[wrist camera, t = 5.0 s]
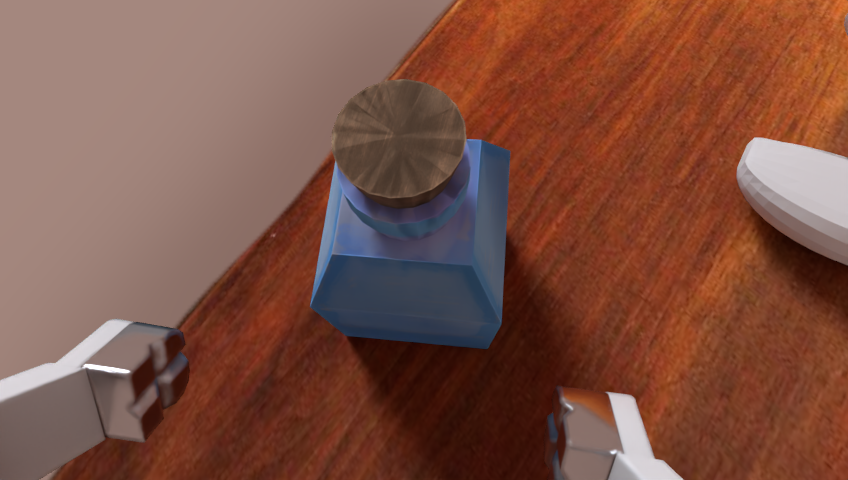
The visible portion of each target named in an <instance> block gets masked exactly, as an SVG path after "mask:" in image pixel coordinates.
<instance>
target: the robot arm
mask: <svg viewBox="0 0 848 480" xmlns="http://www.w3.org/2000/svg"><path fill="white" fill-rule="evenodd" d="M185 345H186V344H185V339H184V335H183V332H181V331H180V330H178V329H175V328H168V327H163V326H157V325H151V324H146V323H140V322H132V321H126V320H120V319H113V320H109V321H107V322H106V323H105V324H103V325H102V326H101V327H100V328H99V329H97V330H96V331H95V332H94V333H92V334H91V335H90V336H89V337H87V338H86V339H85V340H84V341H82V342H81V343H80V344H79V345H78V346H77V347H75V348H74V349H73V350H71V351H70V352H69V353H68V354H66V355H65V356H64V357H63V358H61V359H60V360H59V361H58V362H57V363H55V364H53V363H46V364H43V365H41V366H38V367H35V368H32V369H29V370H27V371H24V372H21V373H18V374H16V375H13V376H10V377H7V378H5V379H2V380H0V480H39V479H41V478H43V477H44V476H46V475H47V474H49V473H51V472H52V471H54V470H56V469H57V468H59V467H61V466H62V465H64V464H66V463H67V462H69V461H70V460H72V459H74V458H75V457H77V456H79V455H80V454H82V453H84V452H85V451H87V450H89V449H90V448H92V447H93V446H95V445H97V444H98V443H100V442H102V441H103V440H105V437H108V438H115V439H122V440H129V441H136V442H145V441H146V440H147V439H148V437H149V436H150V435H151V434H152V432H153V431H154V430H155V429H156V427H157V426H158V425H159V424H160V423H161V421H162V420H163V419H164V416H163V410H164V409H166V408H168V407H170V406H172V405H174V404H176V403H177V401H178V400H179V399H180V397H181V396H182V395H183V393H184V391H185V389H186V386H187V384H188V381H189V373H190V368H189V362H188V360H187V359H186V358H185V356H184V355H183V354H182V353H181V350H182V349H183V348H184V346H185ZM552 409H553V413H552V414H550V415H549V416H548V417H547V422H546V427H545V434H544V462H545V464H546V466H547V467H548V468H549V473H548V477H547V480H683V479H682V478H681V477H680V476H679V475H678V474H677V473H676V472H675V471H674V470H673V469H672V468H671V467H669V466H668V465H667V464H666V463H665V462H664V461H663V460H657V459H655V457H654V454H653V451H652V448H651V445H650V442H649V439H648V436H647V433H646V430H645V427H644V424H643V421H642V419H641V416H640V413H639V410H638V407H637V404H636V401H635V398H634V397H633V396H632V395H628V394H620V393H612V392H606V393H605V392H600V391H593V390H586V389H579V388H572V387H565V386H558V385H556V387H555V389H554V392H553V396H552Z"/></svg>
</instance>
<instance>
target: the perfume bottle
mask: <svg viewBox="0 0 848 480" xmlns="http://www.w3.org/2000/svg"><path fill="white" fill-rule="evenodd" d="M332 152H333V155H334V158H335V160H336V161H335V167H334V173H333V178H332V184H331V190H330V195H329V201H328V207H327V213H326V218H325V224H324V230H323V236H322V241H321V247H320V253H319V258H318V264H317V270H316V276H315V281H314V287H313V293H312V298H311V304H310V307H311V308H312V309H313V310H315V311H316V312H317V313H318V314H320V315H321V316H322V317H323V318H325V319H326V320H327V321H328V322H330V323H331V324H332V325H333V326H335V327H336V328H337V329H338V330H340V331H341V332H342V333H343V334H345V335H346V336H353V337H363V338H374V339H385V340H395V341H406V342H416V343H427V344H438V345H448V346H459V347H469V348H480V349H488V348H489V346H490V344H491V342H492V340H493V339H494V337H495V335H496V333H497V331H498V330H499V328H500V326H501V324H502V305H503V285H504V265H505V244H506V224H507V204H508V184H509V164H510V151H509V150H507V149H504V148H501V147H498V146H496V145H493V144H490V143H488V142H485V141H482V140H472V139H466V129H465V121H464V119H463V117H462V115H461V113H460V111H459V109H458V107H457V105H456V104H455V103H454V102H453V101H452V100H451V99H450V98H449V97H448V96H447V95H446V94H445V93H444V92H442V91H441V90H439V89H437V88H435V87H433V86H431V85H429V84H427V83H423V82H418V81H413V80H408V79H402V80H389V81H384V82H381V83H378V84H376V85H373V86H370V87H367V88H365V89H364V90H362V91H361V92H360V93H358V94H357V95H355V96H354V97H353V98H351V99H350V100H349V101H348V103H347V104H346V105H345V106H344V108H343V109H342V110H341V112H340V113H339V114H338V117H337V120H336V122H335V125H334V128H333V130H332Z"/></svg>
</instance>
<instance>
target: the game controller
mask: <svg viewBox="0 0 848 480" xmlns="http://www.w3.org/2000/svg"><path fill="white" fill-rule="evenodd" d="M844 25H845V30H846V33H847V35H848V14H847V16H846V17H845V23H844ZM737 181H738V185H739V188H740V190H741V192H742V194H743V195H744V197H745V199H746V200H747V202H748V203H749V204H750V205H751V206H752V208H753V209H754V210H755V211H756V212H757V213H758V214H759V215H760V216H761V217H762V218H763V219H764V220H765V221H767V222H768V223H769V224H771V225H772V226H773V227H774V228H776V229H777V230H778V231H780V232H781V233H783V234H784V235H786V236H788V237H789V238H791V239H792V240H794V241H796V242H797V243H799V244H801V245H803V246H805V247H807V248H808V249H810V250H812V251H814V252H817V253H819V254H821V255H823V256H825V257H827V258H830V259H832V260H835V261H837V262H840V263H843V264H845V265H848V158H847V157H844V156H840V155H837V154H833V153H830V152H826V151H822V150H818V149H814V148H810V147H805V146H800V145H796V144H790V143H785V142H779V141H775V140H770V139H764V138H756V137H755V138H754V139H753V140H752V141H751V142H749V143H748V144H747V146H746V149H745V151H744V153H743V156H742V158H741V160H740V163H739V165H738V167H737Z"/></svg>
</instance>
